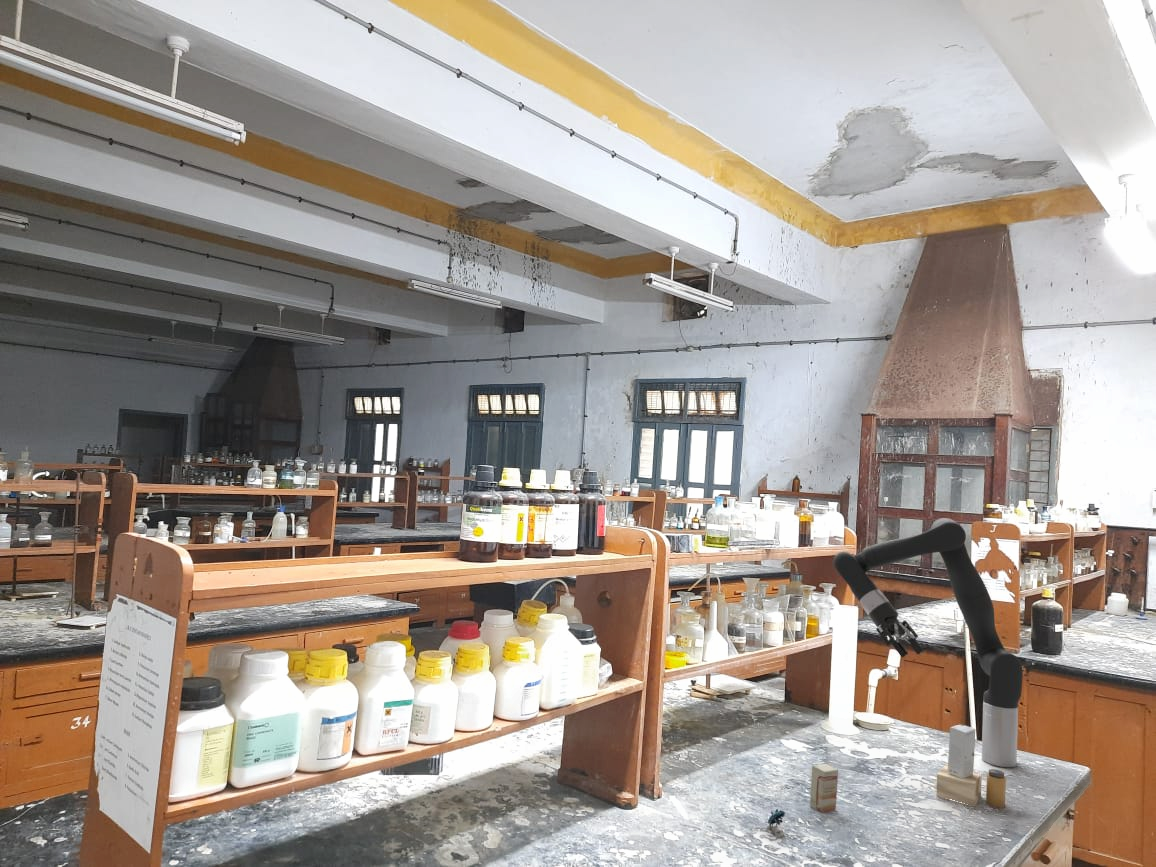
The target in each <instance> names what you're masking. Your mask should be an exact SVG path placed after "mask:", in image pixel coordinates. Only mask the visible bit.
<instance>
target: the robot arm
mask: <svg viewBox="0 0 1156 867" xmlns="http://www.w3.org/2000/svg"><path fill="white" fill-rule="evenodd" d="M966 539H967V533H966V531H965V529H964V528H963V526H962V525H961V524H959V523H958V522H957V521H956V520H954V519H952V518H948V517H942V518H941V517H940V518H938V519H936V520H935V521H934V522H933V523H932V525H931V527H930V529H928V530H927V531H923V532H922V533H918V534H916V535H913V536H912V535H911V536H907V537H902V538H896V539H891V540H887V541H882V542H879V543H876V544H873V545H869V546H867V547H865V548H863V549H862V551H861V552H859V553H856V554H852V553H850V552H848V551H840V552H837V553H836V554H835V555H834V558H833V560H832V562H833V563H832V564H833V567H834V569H835V571H836V572H837V574H838V575H839V577H841V578H842V579H843V581H845V582H846V584H847V586H848V587H849V589H850V590H851V592H852V594H853V595H854V597H855V598H856V600H857V601H858V602H859V604H860V605H861V607H862V609H863V610H864V611H865V613H866V615H867V616H868V617H869V618H870V620H871V621H872V622H873V624H874V625H875V626H876V628H875V630H876V631H877V633H878V635H879V636H880V637H881V639H882V640H883V642H884V643H885V645H886V646H888V647H889V646H890V647H892V648H894V649H895V650H896V652H897V653H898V655H899V656H900V657H901V658H905V657H907V656H908V655H909V652H908V651H907V649H906V648H905V647H904V645H903V644H902V642H900V640H902V641H905V642H907V643H908V644H909V645H910V647H911V649H913V651H914V652H915V654H917V655H920V654H921V653H923V652H924V648H923V647H922V646H921V645H920V643H919V642H918V641H917V638H918V637H919V635H918V634H917V632H915V630H914V629H913V628H912V627H911V625H910V624H909V623H908V622H907V620H905V619H904V620H903V621H902V622H901V621H900V620H899V619H898V617H899V612H898V611H897V610H896V608H895V607H894V606H893V604H891V602H890V601H889V599H888V598H887V597H886V596H885V595H884V593H883V592H882V591H881V590H880V589H879V587H877V585H876V584H875V582H873V580H872V579H871V578H870V577H869V576H868V574H867V573H868V572H870V571H872V570H873V569H879V568H882V567H885V566H888V565H892V564H894V563H897V562H901V561H905V560H908V559H911V558H915V557H919V556H924V555H928V554H934V553H935V554H936V553H939V555H940V557H941V558H942V560H943V564H944V565H945V568H946V572H947V574H948V575H947V576H948V579H949V583H950V586H951V589H952V591H953V595H954V598H955V600H956V602H957V605H958V607H959V609H960V612H961V614H962V617H963V619H964V620H965V621H964V622H965V624H966V626H967V628H968V631H969V632H970V635H971V637H972V639H973V643H974V647H975V650H976V653H977V658H978V661H979V664H980V667H981V669H982V670H983V672H984V673H985V674H986V675H987V676H989V685H988V690H985V691H984V692H983V698H982V699H983V700H982V701H983V702H982V730H981V731H982V734H981V735H982V736H981V737H982V738H981V759H982V760H983V762H986V763H988V764H990V765H993V766H996V767H997V766H998V767H1002V768H1015V767H1017V762H1018V761H1017V757H1018V727H1019V725H1018V724H1019V723H1018V722H1019V718H1018V717H1019V715H1018V714H1019V701H1020V700H1021V698H1022V690H1023V678H1024V677H1023V675H1024V674H1023V673H1024V671H1023V664H1022V662H1021V659H1019V657H1018V656H1016V655H1015V654H1013V653H1011V652H1009V651H1007V649H1005V647H1004V645H1003V643H1002V641H1001V639H1000V637H999V634H998V633H997V629H996V623H995V622H996V621H995V608H994V604H993V601H992V598H991V596H990V593H989V592H988V589H987V587H986V584H985V582H984V580H983V579H982V576H981V575H980V573H979V571H978V570H977V568H976V567H975V565H974V564H973V562H972V560H971V558H970V556H969V552H968V550H967V547H966V544H965V542H966Z"/></svg>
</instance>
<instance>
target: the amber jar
mask: <svg viewBox="0 0 1156 867" xmlns="http://www.w3.org/2000/svg"><path fill="white" fill-rule="evenodd" d="M985 788H986V791H985V792H986V796H985V803H986V802H987V803H986V804H987V805H989V806H991V807H993V808H999V809H1000V808H1002V809H1003V808H1005V807H1006V798H1007V797H1006V796H1007V794H1006V790H1007V777H1006V775H1005V772H1004V771H1002V770H1000V769H993V768H991V769H988V772H987V773H986V787H985Z"/></svg>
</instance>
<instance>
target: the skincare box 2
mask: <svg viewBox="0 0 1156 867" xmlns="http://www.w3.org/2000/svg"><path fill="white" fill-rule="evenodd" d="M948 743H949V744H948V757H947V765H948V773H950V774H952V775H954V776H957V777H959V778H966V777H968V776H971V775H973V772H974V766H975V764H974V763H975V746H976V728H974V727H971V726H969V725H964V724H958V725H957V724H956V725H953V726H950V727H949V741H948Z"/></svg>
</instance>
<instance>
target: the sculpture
mask: <svg viewBox="0 0 1156 867" xmlns="http://www.w3.org/2000/svg"><path fill="white" fill-rule="evenodd" d="M770 813H771V815H770V817H769V818H768V820H767V823H768V824H769V825H767V827H766V828H765V830H767V832H768V833H769V834H773V835H774V836H777V837H779V838H783V837H785V832H784V829H783V828H782V827H779V826H780V825H781V824H782V823H783V818H784V817H785V814H786V811H784V810H783V809H780V810H779V809H778V808H776V809H775V811H774V812H773V810H771V811H770ZM774 824H775V825H774ZM778 825H779V826H778Z"/></svg>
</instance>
